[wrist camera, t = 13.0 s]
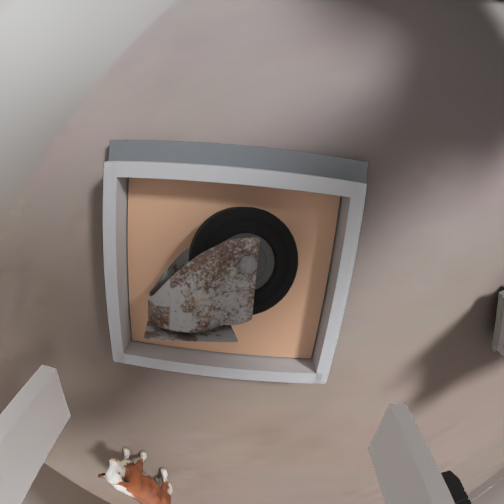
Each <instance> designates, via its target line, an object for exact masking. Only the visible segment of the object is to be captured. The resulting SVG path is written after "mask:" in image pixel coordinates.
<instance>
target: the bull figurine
mask: <svg viewBox="0 0 504 504" xmlns="http://www.w3.org/2000/svg"><path fill="white" fill-rule="evenodd" d="M123 451H124V459H123V460H122V461H119V460H118V459H114V458H110V459H109V463H110V464H109V468H108V470H107V471H106V473H102V474H99V475H98V477H99V478H106V480H107V481H108V482H109V483H111V484H112V485H113V487H114V488H115V489H117V490H118V491H121V492H123V493H124V494H127V495H129V496H131V497H132V498H134V499H135V500H137V501H138V502H140V503H141V504H171V503H170V502H171V495H172V486H171V483H170V482H168V483H167V476H168V473H167V469H165V468H160V470H161V474H162V477H163V482H161V477H159V476H158V477H156V480H157V483H158V484H157V483H156V481H155V480H154V479H153V478H152V477H151V476H150V475H146V474H144V473H143V472H142V467H143V461H144V460H145V459H146V458H147V453H146V452H145V451H143V450H141V451H140V455H141V457H140V459H139V460H138V461H137V463H136V464H134V463H133V462H132V461H130V460H129V455H130V451H129V448H127V447H123Z"/></svg>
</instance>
